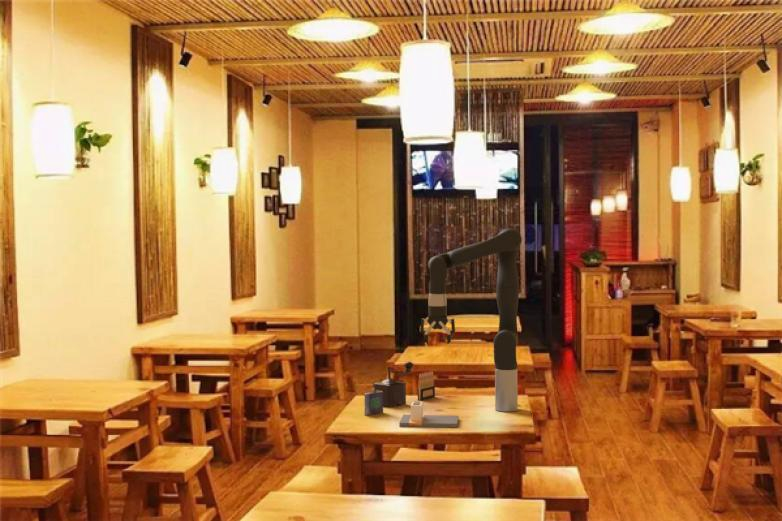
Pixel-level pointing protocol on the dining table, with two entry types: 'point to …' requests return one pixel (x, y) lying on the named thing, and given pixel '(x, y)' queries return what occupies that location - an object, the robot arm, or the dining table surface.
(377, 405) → the flask
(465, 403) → the dining table surface
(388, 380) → the black coffee grinder
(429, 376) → the ammunition clip
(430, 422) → the board
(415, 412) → the block
